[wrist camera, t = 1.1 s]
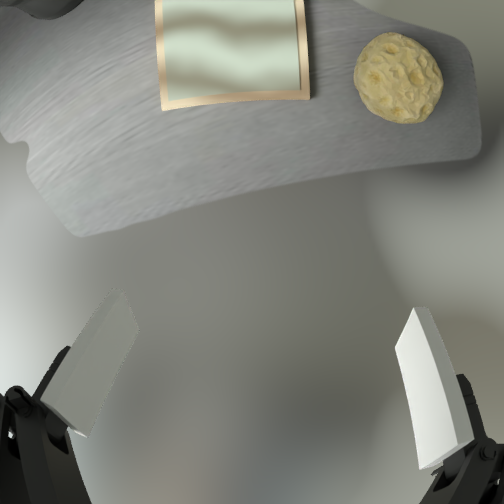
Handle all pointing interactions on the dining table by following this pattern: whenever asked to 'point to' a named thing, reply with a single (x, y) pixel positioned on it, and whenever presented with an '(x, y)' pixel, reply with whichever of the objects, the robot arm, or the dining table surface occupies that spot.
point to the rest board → (230, 51)
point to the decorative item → (398, 79)
